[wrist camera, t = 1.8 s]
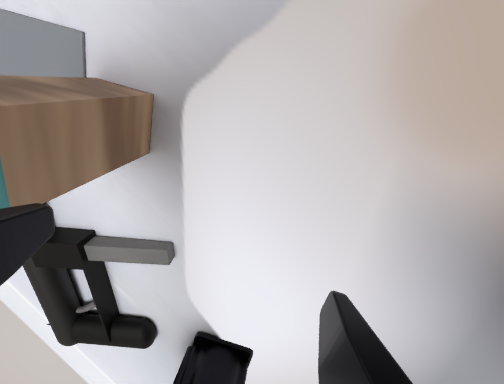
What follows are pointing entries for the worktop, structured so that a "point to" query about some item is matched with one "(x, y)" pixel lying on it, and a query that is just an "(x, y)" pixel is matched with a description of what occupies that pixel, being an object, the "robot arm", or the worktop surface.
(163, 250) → the door handle
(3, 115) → the walnut block
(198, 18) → the worktop surface
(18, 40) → the mat
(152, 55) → the worktop surface
